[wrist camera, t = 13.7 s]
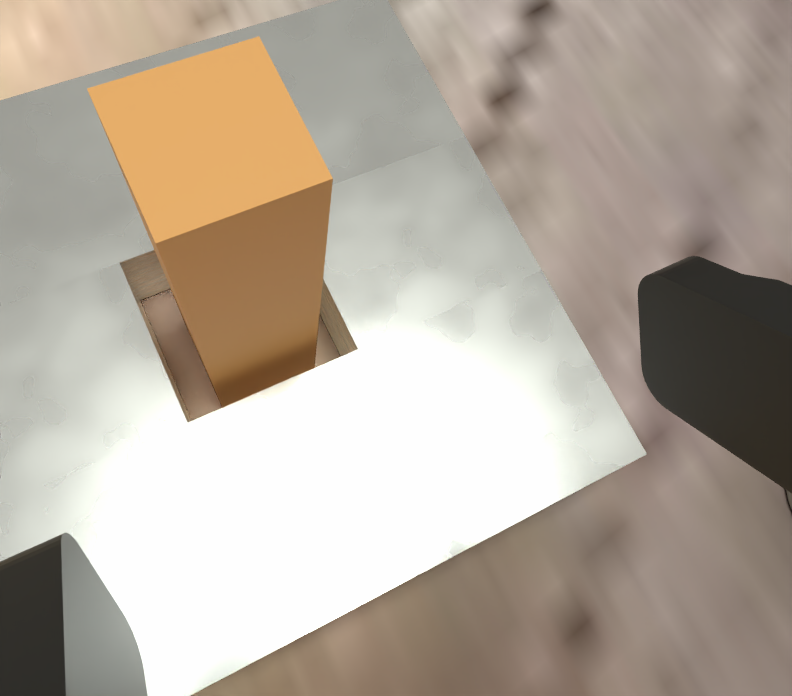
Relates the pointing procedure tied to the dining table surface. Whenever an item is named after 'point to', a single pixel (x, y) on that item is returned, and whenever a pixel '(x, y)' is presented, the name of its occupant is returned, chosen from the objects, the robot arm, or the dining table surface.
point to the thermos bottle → (789, 498)
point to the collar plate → (296, 397)
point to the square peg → (228, 207)
